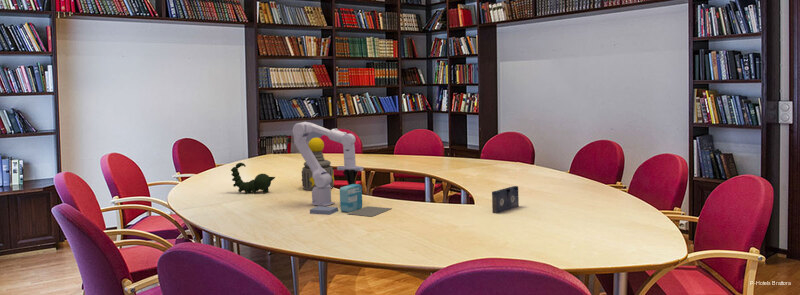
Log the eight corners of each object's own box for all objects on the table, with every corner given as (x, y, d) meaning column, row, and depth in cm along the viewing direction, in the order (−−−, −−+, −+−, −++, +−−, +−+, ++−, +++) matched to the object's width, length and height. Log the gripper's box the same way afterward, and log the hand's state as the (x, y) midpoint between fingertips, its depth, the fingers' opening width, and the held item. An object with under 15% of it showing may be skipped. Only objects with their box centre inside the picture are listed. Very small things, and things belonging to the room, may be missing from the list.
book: (310, 214, 301) (309, 209, 301) (318, 210, 308) (318, 206, 308) (330, 215, 297) (329, 210, 296) (338, 212, 304) (337, 207, 304)
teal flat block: (347, 213, 299) (346, 188, 298) (340, 212, 302) (339, 187, 300) (362, 208, 309) (361, 184, 308) (355, 207, 311) (354, 183, 310)
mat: (347, 214, 296) (347, 213, 296) (367, 206, 311) (367, 206, 311) (372, 216, 289) (372, 216, 289) (391, 208, 304) (391, 208, 304)
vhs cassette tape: (514, 206, 301) (514, 185, 300) (519, 206, 299) (519, 186, 298) (491, 212, 288) (490, 191, 287) (496, 213, 286) (496, 192, 285)
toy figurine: (232, 197, 358) (274, 193, 354) (227, 165, 356) (269, 160, 352) (238, 194, 367) (279, 189, 364) (233, 162, 365) (275, 157, 362)
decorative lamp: (297, 191, 361) (295, 139, 357) (308, 185, 379) (305, 136, 376) (329, 191, 358) (326, 138, 354) (338, 185, 376) (335, 135, 373)
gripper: (366, 157, 314) (367, 183, 316) (342, 156, 322) (344, 182, 323) (358, 159, 308) (359, 186, 310) (334, 158, 315) (336, 185, 317)
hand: (351, 184), depth 316 cm, fingers closed
